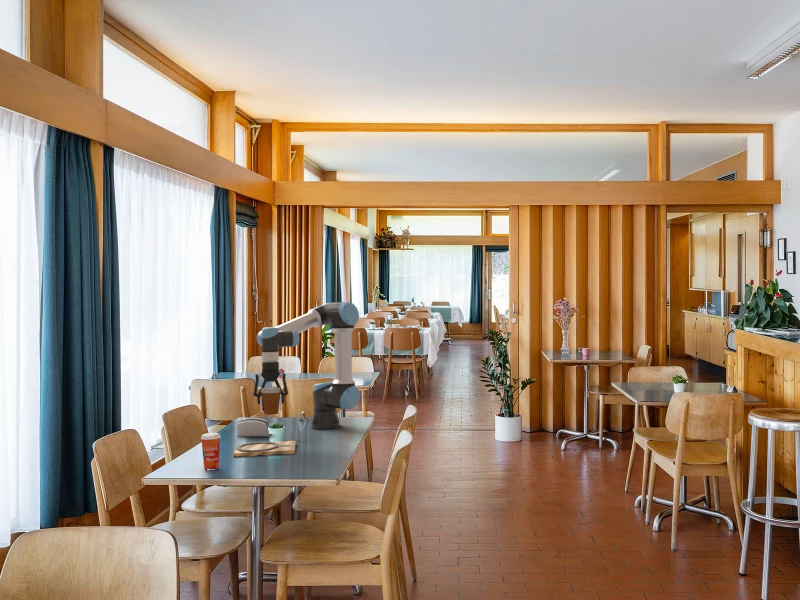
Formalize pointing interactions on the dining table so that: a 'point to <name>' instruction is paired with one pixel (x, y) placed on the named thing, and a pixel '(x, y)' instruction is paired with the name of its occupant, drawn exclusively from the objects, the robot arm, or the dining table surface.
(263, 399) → the disposable coffee cup
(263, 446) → the wooden board
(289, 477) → the dining table surface
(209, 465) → the paper cup
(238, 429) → the napkin holder
